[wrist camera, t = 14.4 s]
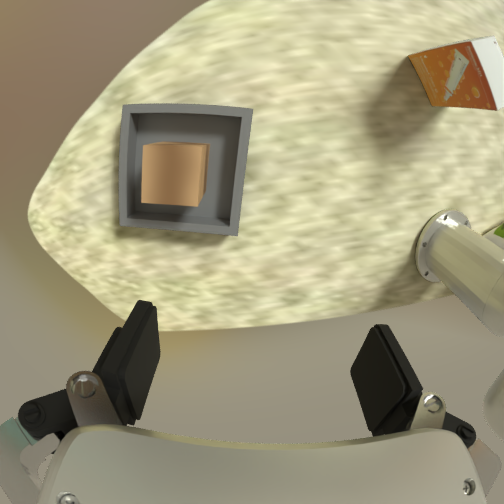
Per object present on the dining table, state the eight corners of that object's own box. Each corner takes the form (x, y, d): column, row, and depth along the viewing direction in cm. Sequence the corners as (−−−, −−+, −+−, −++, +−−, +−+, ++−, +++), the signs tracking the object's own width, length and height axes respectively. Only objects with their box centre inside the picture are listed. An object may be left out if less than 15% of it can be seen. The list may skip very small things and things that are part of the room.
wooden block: (210, 143, 29) (202, 147, 23) (206, 190, 31) (197, 206, 25) (162, 141, 29) (143, 145, 22) (160, 187, 31) (141, 202, 24)
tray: (251, 111, 28) (253, 108, 25) (237, 225, 34) (237, 236, 31) (134, 106, 27) (122, 104, 24) (129, 216, 33) (119, 225, 30)
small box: (406, 55, 25) (469, 39, 13) (433, 47, 24) (495, 34, 12) (431, 108, 28) (498, 112, 16) (456, 96, 27) (520, 99, 15)
